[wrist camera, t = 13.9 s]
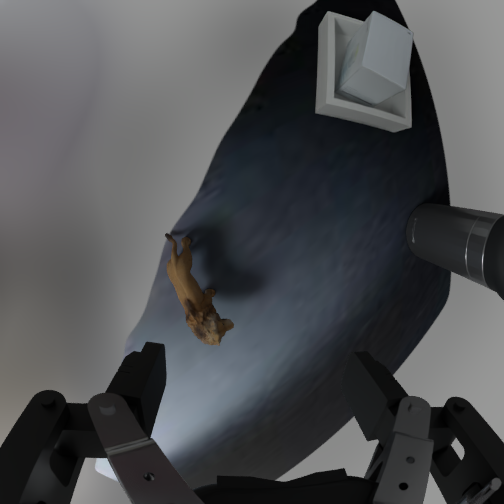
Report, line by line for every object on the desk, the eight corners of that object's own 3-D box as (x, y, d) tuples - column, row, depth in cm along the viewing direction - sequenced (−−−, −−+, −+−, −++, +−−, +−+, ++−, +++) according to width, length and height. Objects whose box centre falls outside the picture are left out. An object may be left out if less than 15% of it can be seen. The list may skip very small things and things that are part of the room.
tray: (391, 49, 33) (405, 37, 28) (393, 132, 36) (411, 127, 31) (318, 26, 32) (327, 11, 27) (315, 113, 35) (326, 103, 30)
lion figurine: (237, 309, 41) (239, 340, 32) (207, 326, 41) (201, 359, 32) (181, 223, 38) (166, 233, 29) (150, 243, 38) (128, 258, 29)
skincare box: (345, 40, 32) (373, 8, 22) (381, 58, 33) (415, 32, 23) (331, 92, 34) (361, 64, 24) (370, 110, 35) (408, 91, 24)
